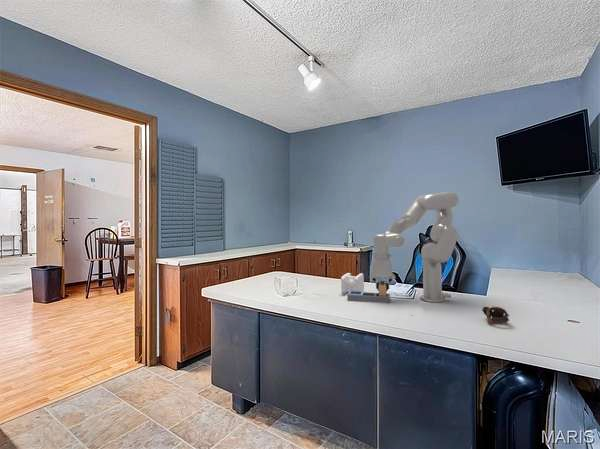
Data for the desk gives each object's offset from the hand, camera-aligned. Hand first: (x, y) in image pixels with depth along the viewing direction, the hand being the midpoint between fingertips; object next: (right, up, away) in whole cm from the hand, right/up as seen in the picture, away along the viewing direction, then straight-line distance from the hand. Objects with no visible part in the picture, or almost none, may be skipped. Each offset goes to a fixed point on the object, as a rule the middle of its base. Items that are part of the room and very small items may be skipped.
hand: (382, 289), depth 170 cm
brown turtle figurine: (+41, -8, -33) cm, 53 cm away
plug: (0, -4, 0) cm, 4 cm away
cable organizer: (-13, -7, +23) cm, 27 cm away
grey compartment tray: (-7, -7, +2) cm, 10 cm away
